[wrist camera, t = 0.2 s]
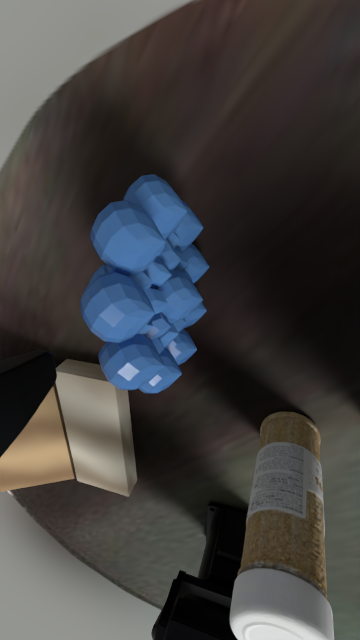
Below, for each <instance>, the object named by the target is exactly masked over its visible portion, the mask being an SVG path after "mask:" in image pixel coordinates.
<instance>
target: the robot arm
mask: <svg viewBox="0 0 360 640" xmlns="http://www.w3.org/2000/svg"><path fill="white" fill-rule="evenodd" d="M56 379H57V372H56V367H55V362H54V356H53V354H52V353H51V352H49V351H44V350H34V351H31V352H28V353H24V354H21V355H17V356H14V357H10V358H7V359H4V360H0V458H1V456H2V455H3V454H4V453H5V452H6V450H7V449H8V448H9V447H10V445H11V444H12V443H13V442H14V440H15V439H16V438H17V437H18V435H19V434H20V433H21V432H22V430H23V429H24V428H25V427H26V425H27V424H28V422H29V421H30V420H31V418H32V417H33V415H34V414H35V412H36V411H37V409H38V408H39V406H40V405H41V403H42V402H43V400H44V399H45V397H46V396H47V394H48V393H49V391H50V390H51V388H52V387H53V385H54V384H55V382H56ZM247 513H248V512H244V511H241V510H237V509H234V508H231V507H227V506H224V505H220V504H217V503H213V502H210V503H209V504H208V507H207V532H206V546H205V550H204V554H203V558H202V562H201V567H200V571H199V575H198V578H197V577H194V576H192V575H189V574H186V572H184V571H181V570H180V571H179V574H178V576H177V579H173V582H172V586H171V589H170V592H169V595H168V598H167V601H166V603H165V605H164V607H163V609H162V611H161V613H160V615H159V616H158V619H157V620H156V622H155V624H154V626H153V629H152V638H153V640H238V639H237V638H236V637H235V635H234V633H233V631H232V629H231V626H230V610H231V602H232V595H233V588H234V583H235V580H236V578H237V577H238V571H239V569H240V568H241V560H242V555H243V548H244V542H245V533H246V519H247Z"/></svg>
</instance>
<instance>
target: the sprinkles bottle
mask: <svg viewBox="0 0 360 640" xmlns="http://www.w3.org/2000/svg"><path fill="white" fill-rule="evenodd" d="M260 435H261V439H260V445H259V452H258V454H257V458H256V464H255V470H254V476H253V483H252V489H251V495H250V501H249V508H248V513H247V519H246V533H245V542H244V548H243V555H242V560H241V568H240V569H239V571H238V577H237V578H236V580H235V583H234V588H233V595H232V602H231V610H230V626H231V629H232V631H233V633H234V635H235V637H236V638H237V639H238V640H334V629H333V616H332V609H331V606H330V604H329V600H328V597H327V585H326V568H325V546H324V534H325V525H324V505H323V488H322V470H321V465H320V454H319V450H320V448H319V446H320V441H321V438H320V433H319V431H318V429H317V427H316V425H315V424H314V423H313V422H312V421H311V420H310V419H308V418H307V417H305V416H303V415H301V414H297V413H295V412H276V413H273V414H270V415H269V416H268V417H266V418H265V420H264V421H263V422H262V424H261V427H260Z"/></svg>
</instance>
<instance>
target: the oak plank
mask: <svg viewBox="0 0 360 640" xmlns="http://www.w3.org/2000/svg"><path fill="white" fill-rule="evenodd" d="M74 476H75V467H74V463H73V458H72V454H71V449H70V445H69V440H68V436H67V431H66V427H65V422H64V418H63V413H62V409H61V404H60V400H59V395H58V391H57V386H56V382H55V384H54V385H53V387H52V388H51V390H50V391H49V393H48V394H47V396H46V397H45V399H44V400H43V402H42V403H41V405H40V406H39V408H38V409H37V411H36V412H35V414H34V415H33V417H32V418H31V420H30V421H29V422H28V424H27V425H26V427H25V428H24V429H23V430H22V432H21V433H20V434H19V435H18V437H17V438H16V439H15V440H14V442H13V443H12V444H11V445H10V447H9V448H8V449H7V450H6V452H5V453H4V454H3V455H2V456H1V458H0V492H2V491H7V490H13V489H18V488H24V487H30V486H35V485H41V484H46V483H52V482H57V481H63V480H69V479H74Z"/></svg>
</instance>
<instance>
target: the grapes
mask: <svg viewBox="0 0 360 640" xmlns="http://www.w3.org/2000/svg"><path fill="white" fill-rule="evenodd" d="M202 229H203V226H202V224H201V223H200V221H199V219H198V218H197V216H196V215H195V214H194V212H193V211H192V210H191V209H190V207H189V206H188V205H187V204H186V203H185V202H183V201H181V199H180V198H179V197H178V195H177V194H176V193H175V191H174V190H173V189H172V188H171V186H170V185H169V184H168V183H167V182H166V181H165V180H163V179H162V178H160V177H158V176H156V175H155V174H152V175H144V176H141V177H140V178H139V179H137V180H136V181H135V182H134V183H133V184H132V185H131V186H130V187H129V189H128V190H127V192H126V194H125V196H124V198H123V201H118V202H111V203H110V204H109V205H108V206H107V207H106V208H105V209H103V210H102V211H101V212H100V213H99V214H98V216H97V218H96V220H95V222H94V224H93V227H92V229H91V235H90V238H91V241H92V244H93V246H94V248H95V250H96V251H97V253H98V255H99V257H100V258H101V259H102V260H103V261H104V262H105V263H106V264H105V265H102V266H101V267H100V268H99V269H98V270H97V271H95V272H94V274H93V275H92V277H91V279H90V281H89V285H88V286H87V287H86V289H85V291H84V293H83V295H82V297H81V301H80V308H81V312H82V316H83V318H84V320H85V322H86V324H87V325H88V327H89V329H90V331H92V332H93V333H94V334H95V335H97V336H98V337H99V338H101V339H102V340H103V341H108V342H106V343H105V345H104V346H103V348H102V349H101V351H100V352H99V354H98V356H99V361H100V365H101V369H102V371H103V373H104V375H105V377H106V378H107V380H108V382H109V383H111V384H112V385H114V386H115V387H116V388H118V389H119V390H134V389H137V388H138V389H140V390H141V391H142V392H144V393H158V392H160V391H162V390H164V389H166V388H168V387H169V386H170V385H171V384H172V383H173V382H174V381H176V380H177V379H178V378H179V377H180V376H181V375H182V373H181V370H180V368H179V366H178V365H180V364H182V363H184V362H185V361H186V360H188V359H189V358H190V357H191V356H192V355H193V354H194V353H195V352H196V351H197V348H196V346H195V344H194V342H193V340H192V339H191V337H190V335H189V334H188V333H187V332H186V331H185V330H184V328H187V327H189V326H191V325H193V324H194V323H195V322H197V321H198V320H199V319H200V318H201V317H202V316H203V315H204V314H205V312H206V311H207V310H206V308H205V307H204V305H203V303H202V301H203V299H202V297H201V295H200V294H199V292H198V290H197V288H196V287H195V285H194V283H195V282H196V281H197V280H198V279H199V278H200V277H201V276H202V275H203V274H204V273H205V272H206V271H207V270H208V268H209V265H208V264H207V262H206V260H205V258H204V257H203V255H202V254H201V253H200V251H199V250H198V249H197V248H196V247H195V246H194V245H193V244H192V243H193V241H194V240H195V239H196V238H197V236H198V235H199V234H200V232H201V231H202Z"/></svg>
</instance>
